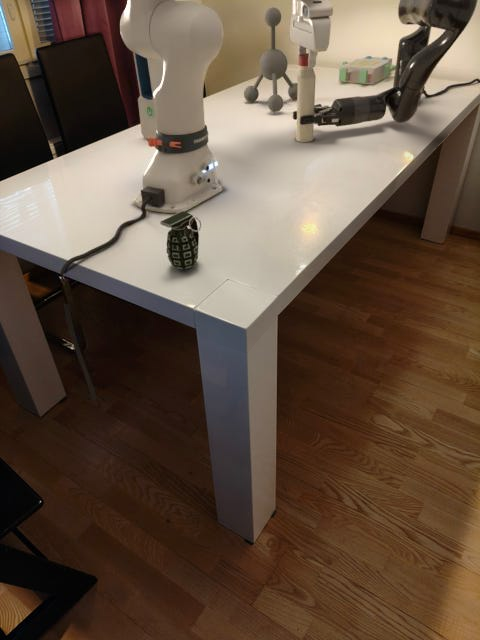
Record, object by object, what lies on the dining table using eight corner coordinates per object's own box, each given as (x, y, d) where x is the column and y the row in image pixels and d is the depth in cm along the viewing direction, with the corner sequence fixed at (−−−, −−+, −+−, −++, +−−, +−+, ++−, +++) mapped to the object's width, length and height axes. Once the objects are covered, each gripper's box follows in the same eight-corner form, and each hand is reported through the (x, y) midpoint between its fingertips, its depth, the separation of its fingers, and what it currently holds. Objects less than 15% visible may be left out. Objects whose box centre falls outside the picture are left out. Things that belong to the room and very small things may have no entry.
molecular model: (322, 103, 175) (328, 5, 157) (274, 116, 166) (273, 12, 147) (282, 92, 191) (282, 1, 172) (235, 103, 181) (230, 8, 163)
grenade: (182, 278, 88) (175, 228, 82) (162, 268, 91) (153, 219, 85) (208, 263, 92) (203, 214, 85) (187, 253, 95) (181, 205, 89)
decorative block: (357, 54, 211) (402, 57, 202) (356, 70, 215) (400, 74, 206) (330, 65, 195) (377, 69, 186) (329, 83, 199) (375, 87, 190)
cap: (317, 63, 134) (318, 53, 133) (311, 66, 131) (312, 56, 129) (302, 62, 136) (302, 53, 134) (295, 65, 133) (296, 56, 131)
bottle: (309, 135, 148) (312, 55, 135) (315, 140, 144) (319, 58, 131) (294, 137, 147) (295, 57, 134) (299, 142, 143) (301, 60, 130)
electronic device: (141, 137, 154) (123, 28, 136) (159, 131, 158) (144, 24, 140) (166, 145, 147) (151, 30, 129) (185, 138, 151) (172, 26, 133)
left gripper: (284, 3, 132) (284, 59, 141) (311, 10, 117) (309, 73, 125) (306, 1, 133) (304, 57, 142) (336, 8, 118) (332, 71, 126)
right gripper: (341, 92, 148) (288, 98, 144) (363, 103, 137) (306, 110, 133) (339, 117, 152) (288, 124, 149) (360, 130, 141) (305, 138, 138)
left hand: (307, 65), depth 133 cm, fingers closed on cap, 4 cm apart
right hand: (297, 118), depth 141 cm, fingers closed on bottle, 5 cm apart
